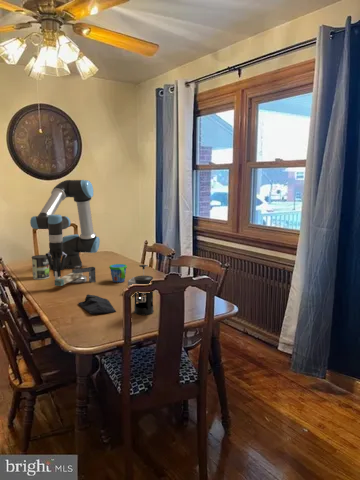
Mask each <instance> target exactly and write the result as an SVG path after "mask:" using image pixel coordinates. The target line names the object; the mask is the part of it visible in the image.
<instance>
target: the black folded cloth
mask: <svg viewBox="0 0 360 480" xmlns="http://www.w3.org/2000/svg"><path fill="white" fill-rule="evenodd" d="M77 304H78V305H79V306H80V307H81V308H82V309H84V310H85V311H86V312H88V313H90V314H91V315H97V314H111V313H116V312H117V310H116V309H115V308H114V305H112V304H111V302H110V301H109V299H107V298H104V297H101V296H99V295H94V294H86V295H85V298H84V300H83V301H80V302H78V303H77Z"/></svg>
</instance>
